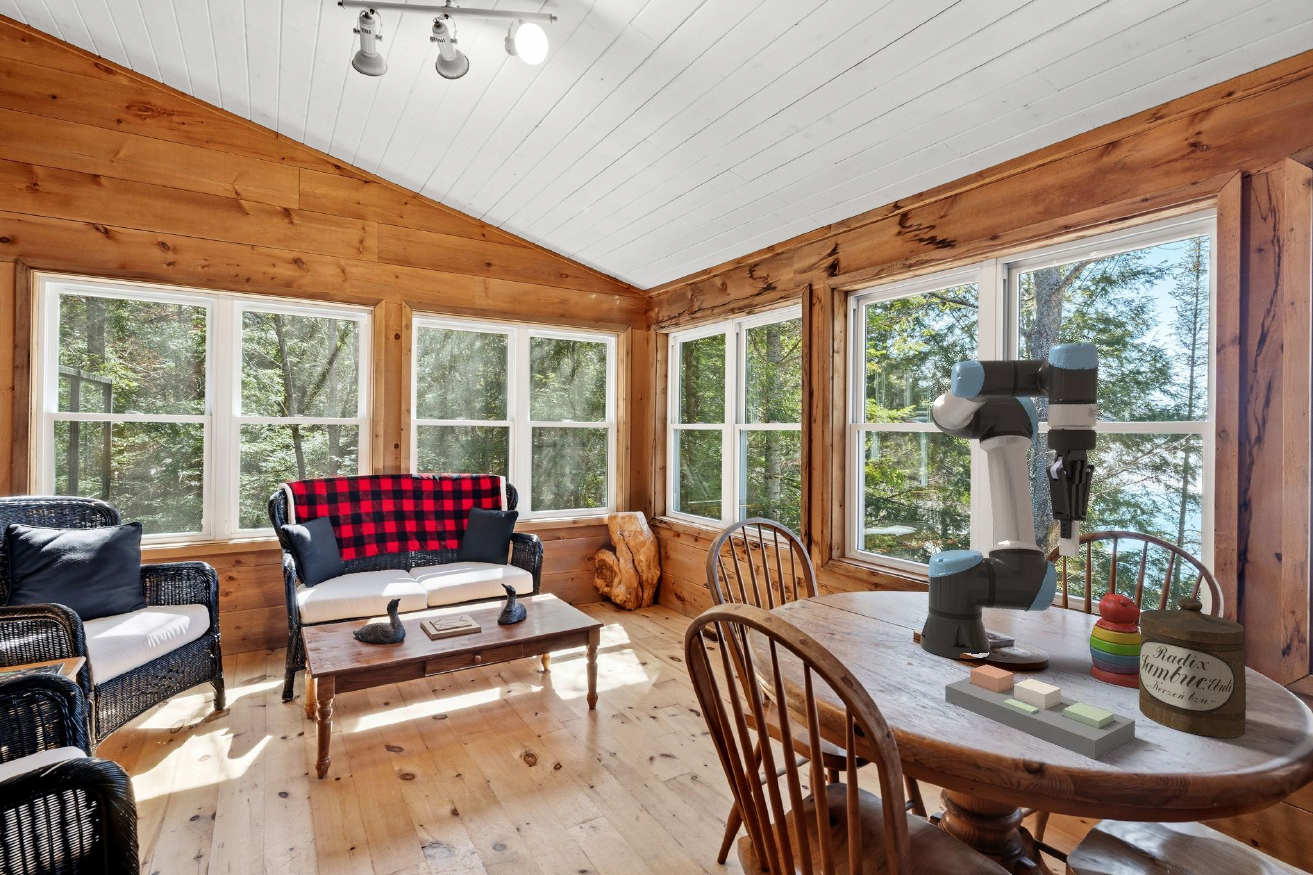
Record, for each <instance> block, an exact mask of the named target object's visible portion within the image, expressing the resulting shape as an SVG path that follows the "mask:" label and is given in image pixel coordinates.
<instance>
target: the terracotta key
mask: <svg viewBox="0 0 1313 875" xmlns="http://www.w3.org/2000/svg"><path fill="white" fill-rule="evenodd" d="M1014 676H1015V674H1014V672H1011V671H1007V670H1005V669H1002V668H998V667H995V666H993V665H990V664H984V665H981V666H978V667H975V668H972V669H970V677H971V680H970V684H973V685H976V686H979V687H981V688H984V689H987V690H990V691H993V692H995V693H1001V692H1004V691H1006V690H1009V689H1012V688H1014V680H1015V679H1014V678H1015V677H1014Z"/></svg>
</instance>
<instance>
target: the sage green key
mask: <svg viewBox="0 0 1313 875" xmlns="http://www.w3.org/2000/svg"><path fill="white" fill-rule="evenodd" d="M1078 702H1079V703H1076V704H1074V705H1072V706H1069V707H1067V708H1065V709H1064V717H1066V718H1069V719H1072V720H1074V721H1077V722H1080V723H1083V724H1086V725H1088V726H1091V727H1094V728H1097V729H1102V728H1104V727H1106V726H1108V725H1110V724H1112V723H1114V712H1112V711H1109V712H1108V710H1106V711H1105V709H1103V710H1102V708H1100V709H1098V708H1099V707H1096V706H1093V707H1092V705H1090V704H1087V703H1084V702H1081V701H1078ZM1080 702H1081V703H1080ZM1083 703H1084V704H1083ZM1086 704H1087V705H1086ZM1089 705H1090V706H1089ZM1095 707H1096V708H1095ZM1111 712H1112V713H1111Z"/></svg>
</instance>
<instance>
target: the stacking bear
mask: <svg viewBox="0 0 1313 875" xmlns="http://www.w3.org/2000/svg"><path fill="white" fill-rule="evenodd" d="M1098 611H1099V614H1100V617H1101V618H1099V619H1098V620H1097V621H1096V622H1095V623H1094V625H1093V627H1092V630H1091V634H1090V638H1089V652H1090V655H1091V656H1090V657H1091V661H1092V663H1093V664H1092V666H1091V667H1090V676H1092V677H1093V678H1096V679H1097V680H1100V681H1102V682H1106V683H1108V684H1109V683H1110V684H1113V685H1117V686H1121V687H1127V688H1134V689H1139V668H1140V645H1141V631H1140V627H1138V626H1137V624H1136V623H1135V622H1136V621H1137V620H1138V618H1140V614H1141V610H1140V609H1139V607H1138V606H1137V605H1136V604H1135V603H1134V602H1133V600H1132V599H1130V598H1129V597H1128V596H1126V595H1123V594H1118V593H1117V594H1116V593H1114V594H1113V592H1111V591H1107V592H1106V593H1105V594H1104V596H1103V597H1102V598H1101V599H1100V600H1099V602H1098Z"/></svg>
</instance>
